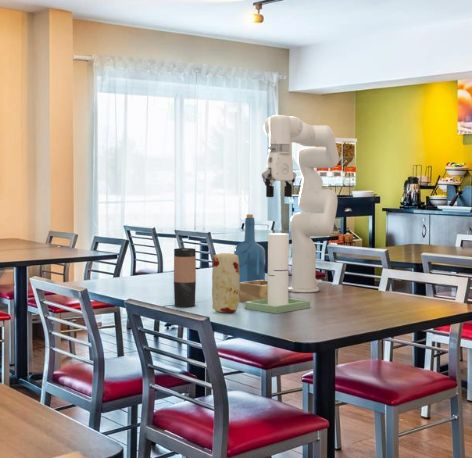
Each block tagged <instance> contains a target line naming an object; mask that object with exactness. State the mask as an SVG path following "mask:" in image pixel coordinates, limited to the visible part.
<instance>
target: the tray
mask: <svg viewBox="0 0 472 458" xmlns="http://www.w3.org/2000/svg"><path fill="white" fill-rule="evenodd" d="M310 308H311V301H310V300H304V299H297V298H291V297H288V304H287V305H281V306H271V305H268V299H261V300H254V301H248V302H245V303H244V309H247V310H251V311H258V312H264V313H269V314H270V313H271V314H281V313H288V312H293V311H299V310H305V309H310Z"/></svg>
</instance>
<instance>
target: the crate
mask: <svg viewBox="0 0 472 458" xmlns="http://www.w3.org/2000/svg"><path fill="white" fill-rule="evenodd" d="M261 299H268V280H266V279H265V280H256V281H247V282H240V290H239V302H238V303H244V304H245V302H248V301H254V300H261Z"/></svg>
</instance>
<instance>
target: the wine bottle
mask: <svg viewBox="0 0 472 458" xmlns="http://www.w3.org/2000/svg"><path fill="white" fill-rule="evenodd" d="M255 221H256V220H255V217H254V214H252V213H247V214H246V217H245V219H244V240H243V241H241V242H240V243H238V244H237V245H236V247H234V250H233V254H235V255H237V256H238V258H239V275H240V282H247V281H256V280H265V281H266V250H265V248H264V247H263V245H261V244H259V243H258V242H256V235H255V233H256V232H255V231H256V230H255V225H256V224H255V223H256V222H255Z"/></svg>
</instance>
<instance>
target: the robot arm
mask: <svg viewBox="0 0 472 458" xmlns="http://www.w3.org/2000/svg"><path fill="white" fill-rule="evenodd" d="M263 131H264V133H265V135H266V136H267V138H269V139H268V154H267V161H266V170H265V171H262V173H261V178H262V181H263V183H264V186H265V197H266V198H274V197H275V189H274V188H275V186H274V184H275V182H283V183H284V187H283V188H284V189H283V190H284V192H283V193H284V194H283V195H284V197H285V198H292V197H293V186H294V183H295V181H296V177H297V174H296V172H295V171H294V162H293V156H292V153H291V143H295V144H298V145H300V146H303V148H300V149H299V150H298V151H297V154H296V155H297V159H296V160H297V165H298V168H299V172H300V175H301V185H300V186H301V187H300V190H299V194H298V195H299V196H298V202H297V203H298V204H297V205H298V209H299V210H300V212H295V213H293V214H292V215H291V217H290V219H289V227H290V233H291V286H288V292H293V293H318V292H319V291H320V287H318V285H322V284H323V280H322V279H318V278H316V275H317V274H316V272H317V271H316V270H317V269H316V267H317V266H316V265H317V263H316V261H317V259H316V258H317V247H316V244H315V242H314V241H313V239H312V238H311V237H319V238H323V237H325V238H327V237H330V236H331V235H332V234H333V231H334V228H335V223H336V222H335V221H336V215H337V209H338V203H339V201H338V194H337V193H336V191H334V190H332V189H327V188H325V189H324V188H323V183H324V181H323V178H322V176H321V175H320V173H318V171H316V169H332V168H335V167H337V165H338V164H339V160H340V155H339V150H338V146H337V143H336V138H335V135H334V131H333V130H332V128H331V127H330V126H329V125H328V124H327V125H326V124H319V125H318V124H317V125H313V124H312V125H311V124H308V123H307V122H304V121H302V119H300V118H299V117H298V116H294V115H293V116H292V115H291V116H290V115H289V116H288V115H285V114H274V115H272V116H269V117H267V118H266V119H265V121H264V122H263Z"/></svg>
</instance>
